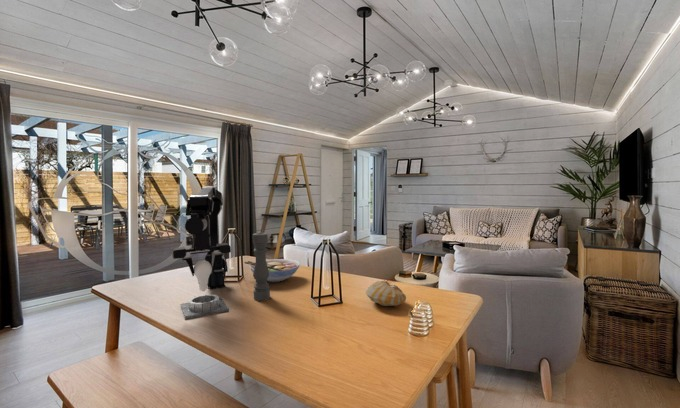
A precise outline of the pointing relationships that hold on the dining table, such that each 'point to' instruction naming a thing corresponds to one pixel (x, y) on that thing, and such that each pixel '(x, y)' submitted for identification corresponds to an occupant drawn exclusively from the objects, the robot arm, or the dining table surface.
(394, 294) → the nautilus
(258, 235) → the candle holder
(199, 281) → the lightbulb
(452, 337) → the dining table surface
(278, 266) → the ramen bowl
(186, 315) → the bulb socket
